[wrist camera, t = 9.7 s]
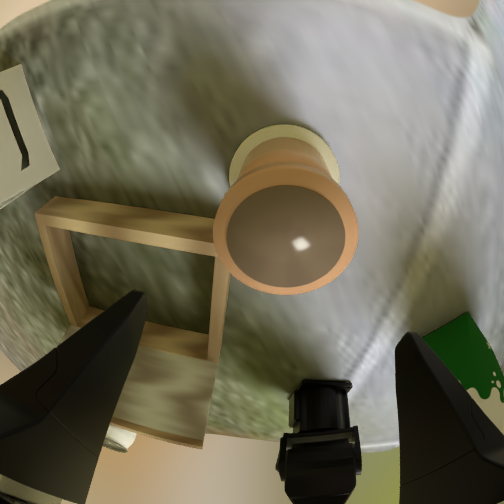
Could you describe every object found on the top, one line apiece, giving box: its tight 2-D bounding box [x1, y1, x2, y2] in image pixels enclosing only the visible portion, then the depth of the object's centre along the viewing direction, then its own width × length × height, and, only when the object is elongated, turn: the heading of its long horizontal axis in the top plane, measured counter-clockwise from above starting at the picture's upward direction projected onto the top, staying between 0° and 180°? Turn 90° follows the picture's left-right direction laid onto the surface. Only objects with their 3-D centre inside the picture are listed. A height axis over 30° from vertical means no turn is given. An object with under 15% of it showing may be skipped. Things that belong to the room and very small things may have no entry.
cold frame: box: [35, 196, 231, 449], centre depth 20 cm, size 16×14×12 cm
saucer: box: [229, 124, 340, 186], centre depth 18 cm, size 7×7×1 cm
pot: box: [213, 137, 358, 295], centre depth 15 cm, size 6×6×7 cm
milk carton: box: [422, 312, 504, 435], centre depth 19 cm, size 9×9×20 cm
